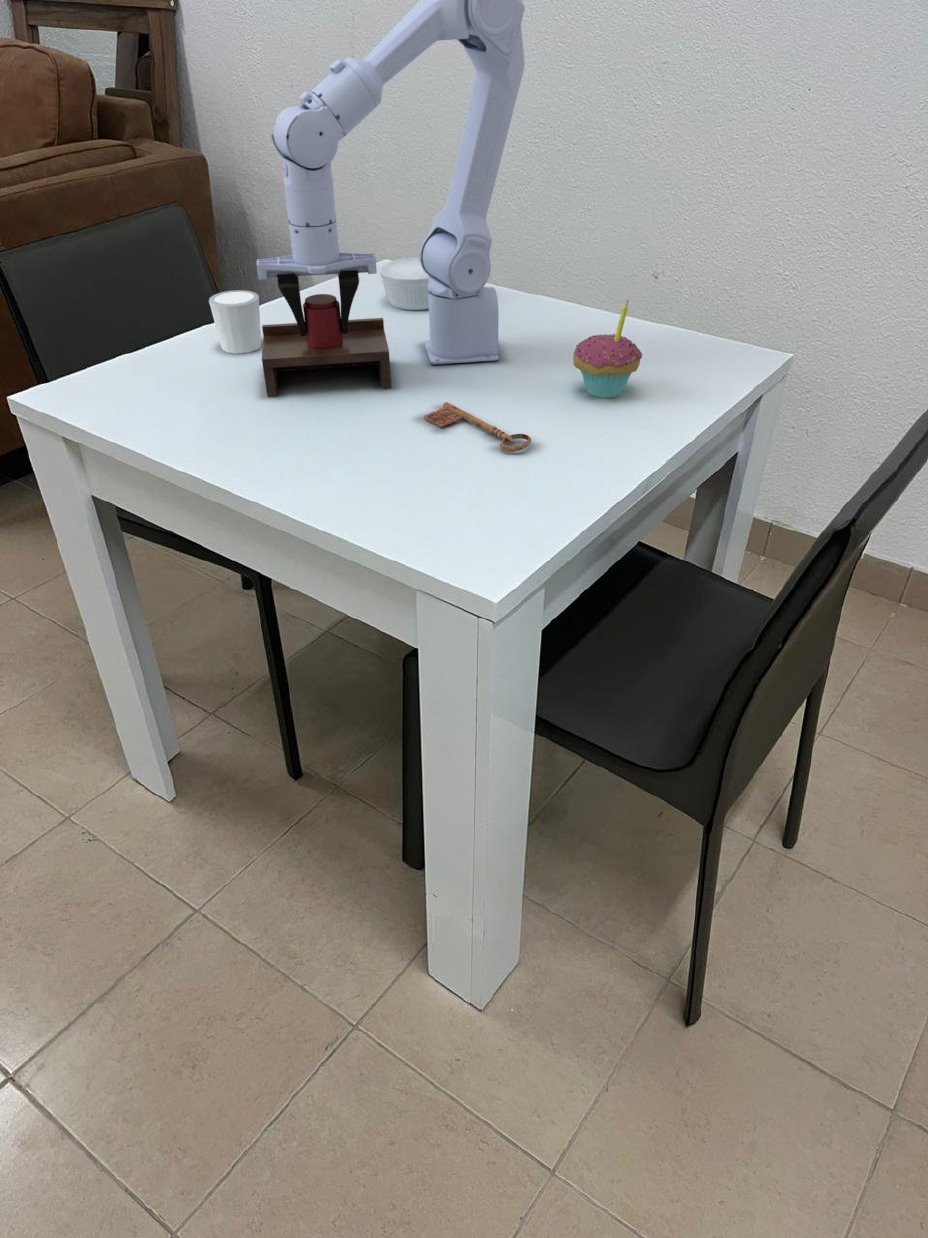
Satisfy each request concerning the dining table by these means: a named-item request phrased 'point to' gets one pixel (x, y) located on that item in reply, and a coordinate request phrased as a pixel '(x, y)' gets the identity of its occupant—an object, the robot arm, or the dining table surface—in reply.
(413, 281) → the ramekin
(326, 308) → the red lidded jar
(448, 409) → the key
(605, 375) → the cupcake
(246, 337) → the white cup
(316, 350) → the shelf
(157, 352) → the dining table surface
